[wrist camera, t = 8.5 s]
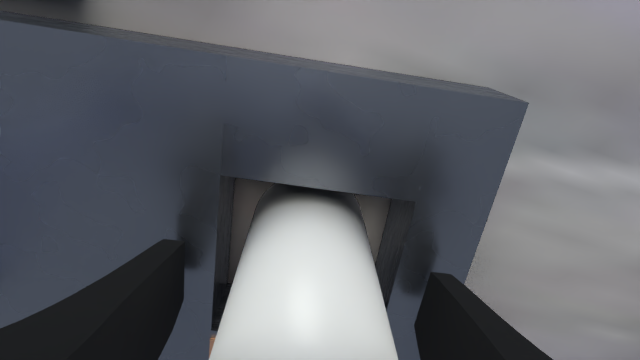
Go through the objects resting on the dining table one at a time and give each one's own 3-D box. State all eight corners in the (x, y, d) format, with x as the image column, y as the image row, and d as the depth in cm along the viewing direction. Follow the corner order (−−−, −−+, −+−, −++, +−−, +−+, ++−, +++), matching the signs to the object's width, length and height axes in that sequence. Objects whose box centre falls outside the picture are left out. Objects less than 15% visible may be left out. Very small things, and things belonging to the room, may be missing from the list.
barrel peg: (253, 266, 15) (206, 457, 8) (253, 170, 13) (196, 311, 7) (356, 271, 15) (389, 462, 8) (368, 176, 13) (419, 320, 7)
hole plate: (20, 323, 16) (-33, 378, 13) (-38, 4, 11) (-135, -1, 9) (401, 363, 17) (416, 420, 14) (488, 87, 12) (530, 103, 10)
